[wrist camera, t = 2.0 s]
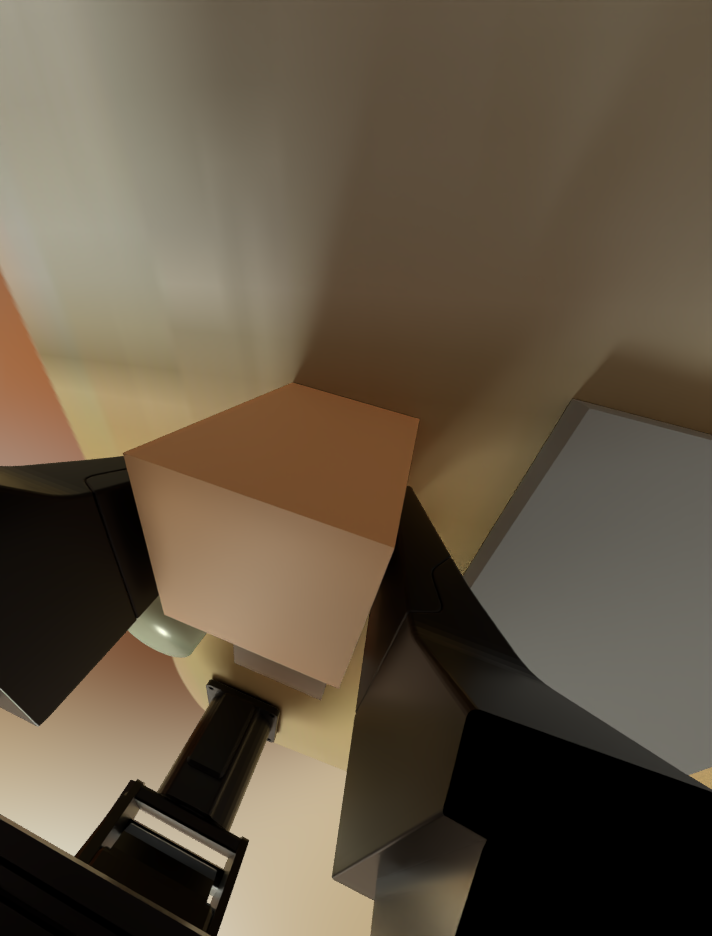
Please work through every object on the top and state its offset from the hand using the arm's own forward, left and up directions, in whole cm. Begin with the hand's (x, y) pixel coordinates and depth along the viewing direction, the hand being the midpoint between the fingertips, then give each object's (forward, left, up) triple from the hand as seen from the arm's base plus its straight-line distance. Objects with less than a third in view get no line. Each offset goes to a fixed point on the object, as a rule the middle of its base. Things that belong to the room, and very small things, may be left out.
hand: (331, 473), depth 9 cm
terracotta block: (0, 0, -1) cm, 1 cm away
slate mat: (-5, -12, -1) cm, 13 cm away
